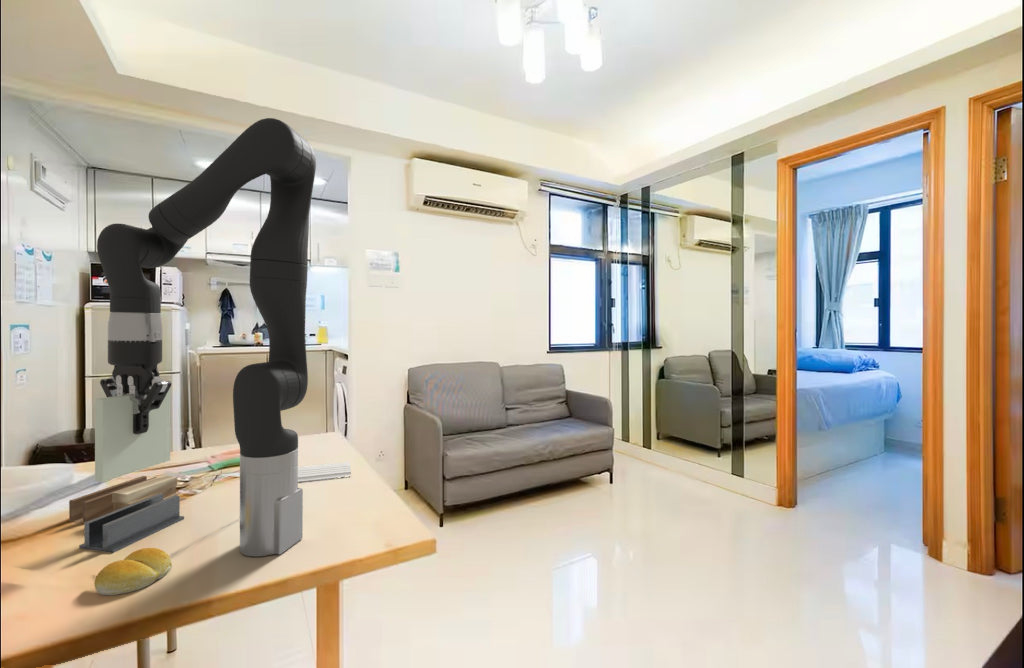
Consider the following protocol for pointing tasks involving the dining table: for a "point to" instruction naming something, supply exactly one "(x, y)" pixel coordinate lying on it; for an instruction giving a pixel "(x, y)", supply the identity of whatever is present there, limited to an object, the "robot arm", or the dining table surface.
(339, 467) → the baseboard molding
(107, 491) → the walnut rack
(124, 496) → the tan piece
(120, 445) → the sage panel
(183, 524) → the dining table surface
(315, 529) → the dining table surface
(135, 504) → the grey stand
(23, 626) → the dining table surface
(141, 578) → the bread roll
